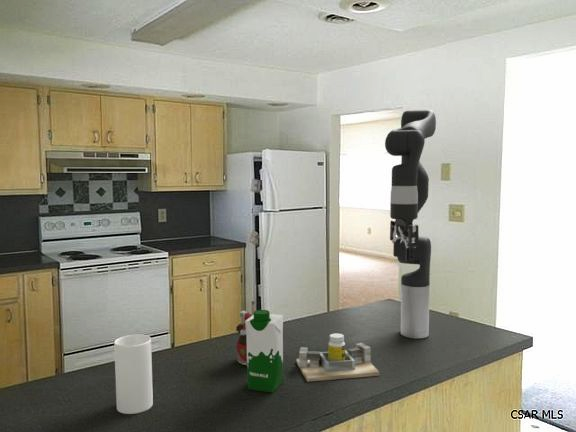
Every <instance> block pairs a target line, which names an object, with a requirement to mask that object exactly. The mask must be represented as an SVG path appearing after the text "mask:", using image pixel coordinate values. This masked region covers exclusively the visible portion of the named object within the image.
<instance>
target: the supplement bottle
mask: <svg viewBox="0 0 576 432" xmlns="http://www.w3.org/2000/svg"><path fill="white" fill-rule="evenodd" d="M345 350H346V342H345V335H344V334H342V333H338V332H337V333H331V334H329V341H328V349H327V352H328V362H331V361H343V360H345Z"/></svg>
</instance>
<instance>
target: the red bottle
mask: <svg viewBox="0 0 576 432" xmlns="http://www.w3.org/2000/svg"><path fill="white" fill-rule="evenodd" d="M255 303H256V302H255V300H251V313H250V312H247V311H246V310H241V311H240V312H239V313H238V315H239V318H240V319H244V323H243V322H242V323H241V322H240V323H239V324H237V326H235V327H236V329H235V330H236V332H238V334H240V336H239V337H238V340H237V342H236V346H237V347H236V351H237V353H238V356H237V358H236V359H237V362H238V363H239V364H241V365H243V366H244V365H245V366H247V337H246V324H245V321H246V320H247V319H248V318H250V317H251V316H252V315H254V311H256V307H255V306H256V304H255Z"/></svg>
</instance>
